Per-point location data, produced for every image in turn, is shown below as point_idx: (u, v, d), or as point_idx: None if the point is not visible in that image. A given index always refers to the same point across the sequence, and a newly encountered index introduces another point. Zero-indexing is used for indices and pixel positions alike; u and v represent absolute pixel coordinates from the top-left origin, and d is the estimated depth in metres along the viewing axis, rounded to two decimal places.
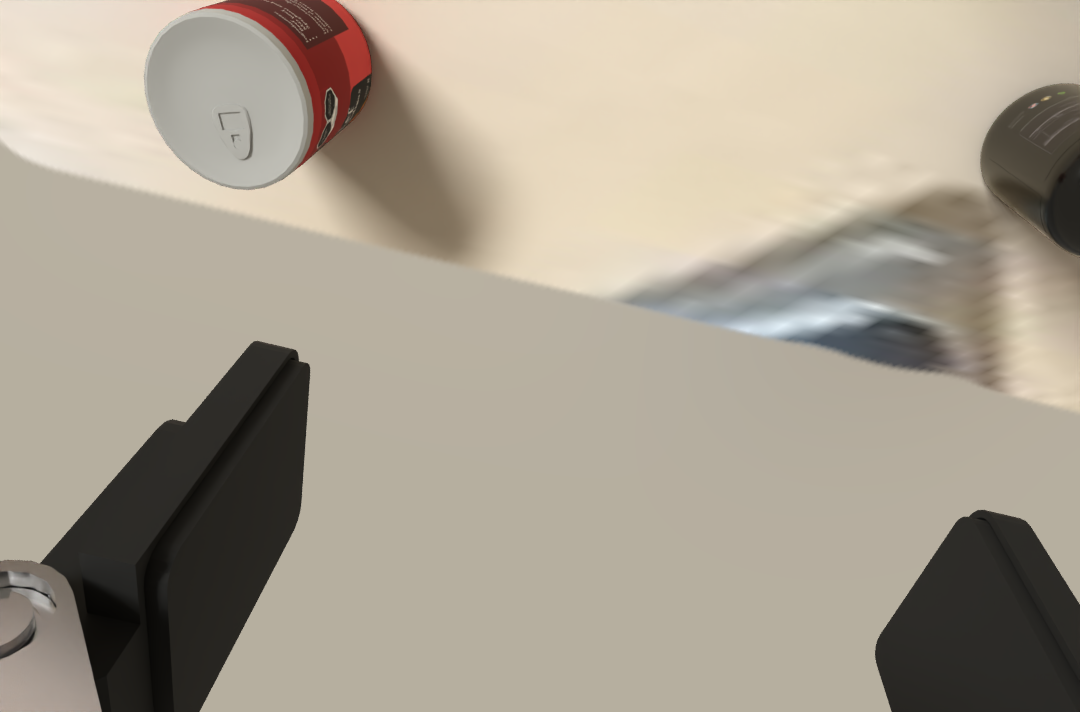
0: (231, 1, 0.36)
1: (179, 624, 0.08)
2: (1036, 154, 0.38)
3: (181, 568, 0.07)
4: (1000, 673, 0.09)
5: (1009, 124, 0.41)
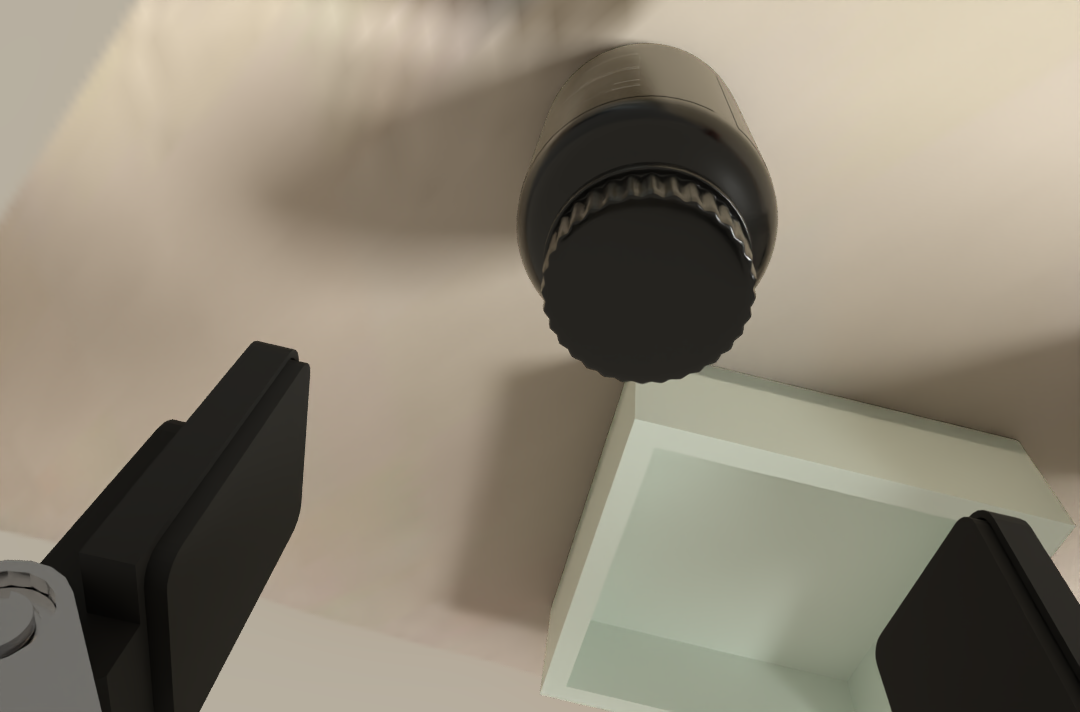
0: None
1: (179, 624, 0.08)
2: (747, 129, 0.21)
3: (181, 568, 0.07)
4: (1000, 673, 0.09)
5: (739, 109, 0.25)
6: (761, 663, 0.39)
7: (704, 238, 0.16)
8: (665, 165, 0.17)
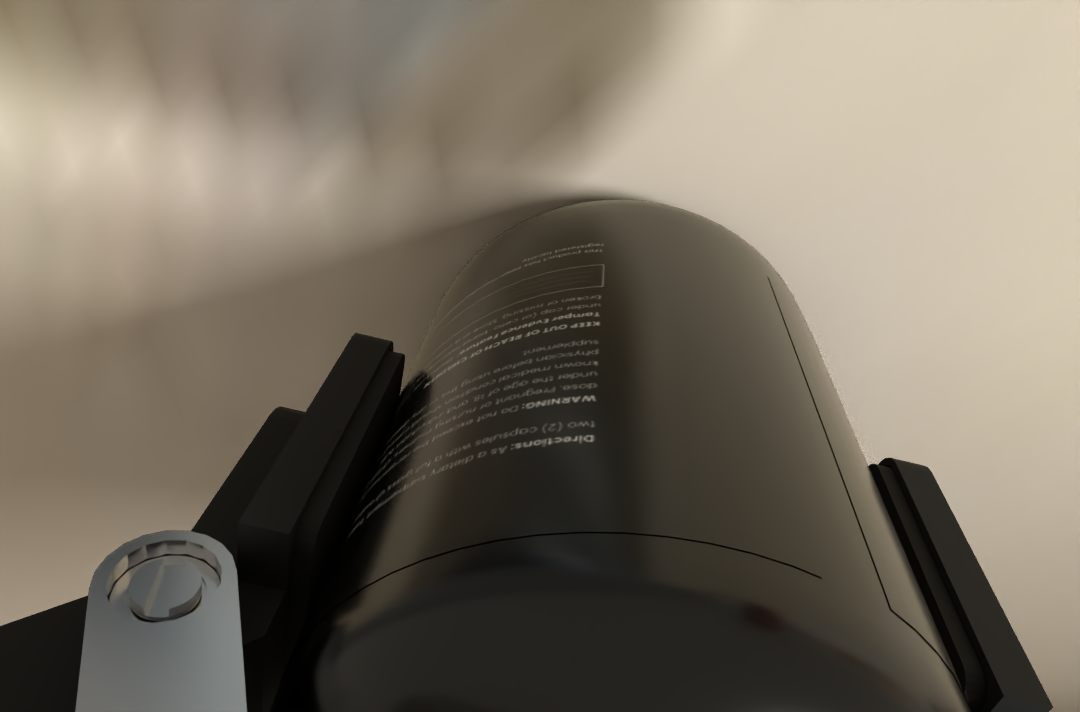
0: None
1: (313, 592, 0.08)
2: (879, 506, 0.08)
3: (321, 539, 0.08)
4: None
5: (818, 349, 0.12)
6: None
7: None
8: None
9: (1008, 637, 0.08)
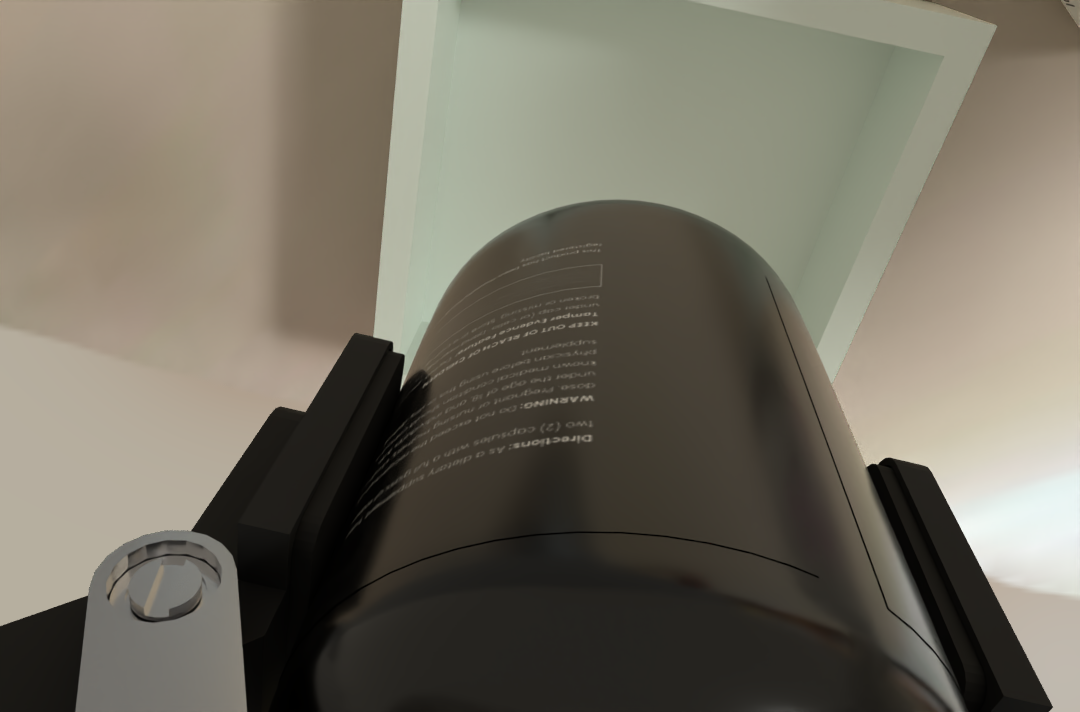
0: None
1: (314, 592, 0.08)
2: (876, 504, 0.08)
3: (321, 539, 0.08)
4: None
5: (815, 349, 0.12)
6: None
7: None
8: None
9: (1008, 637, 0.08)
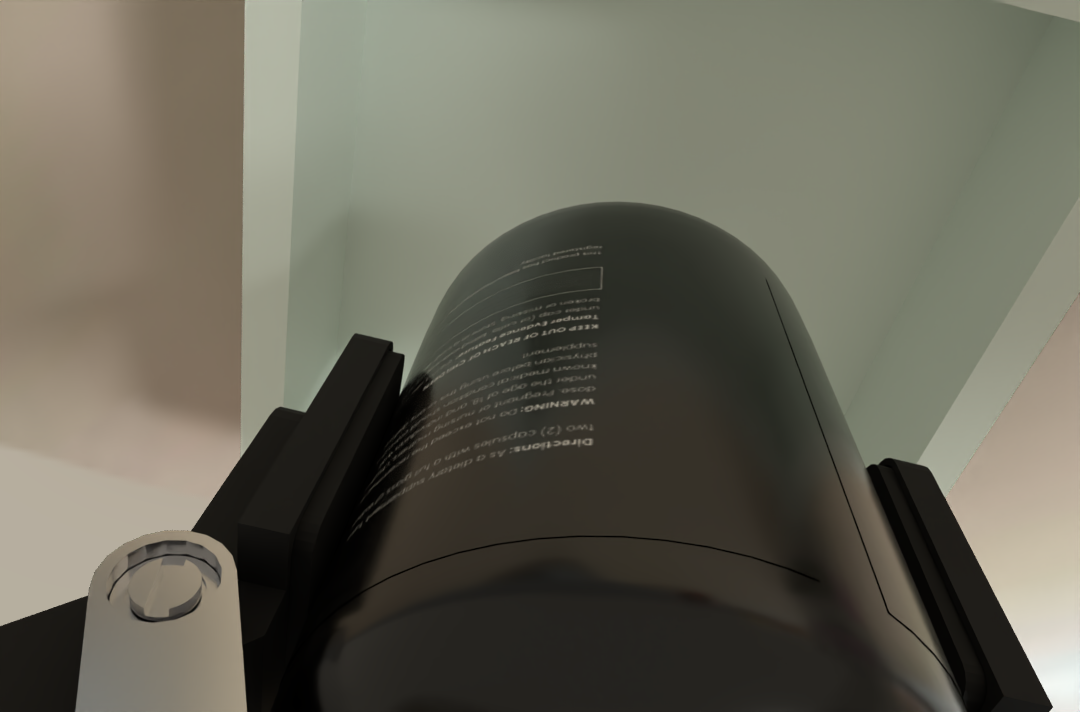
0: None
1: (313, 592, 0.08)
2: (877, 508, 0.08)
3: (321, 539, 0.08)
4: None
5: (816, 351, 0.12)
6: None
7: None
8: None
9: (1009, 637, 0.08)
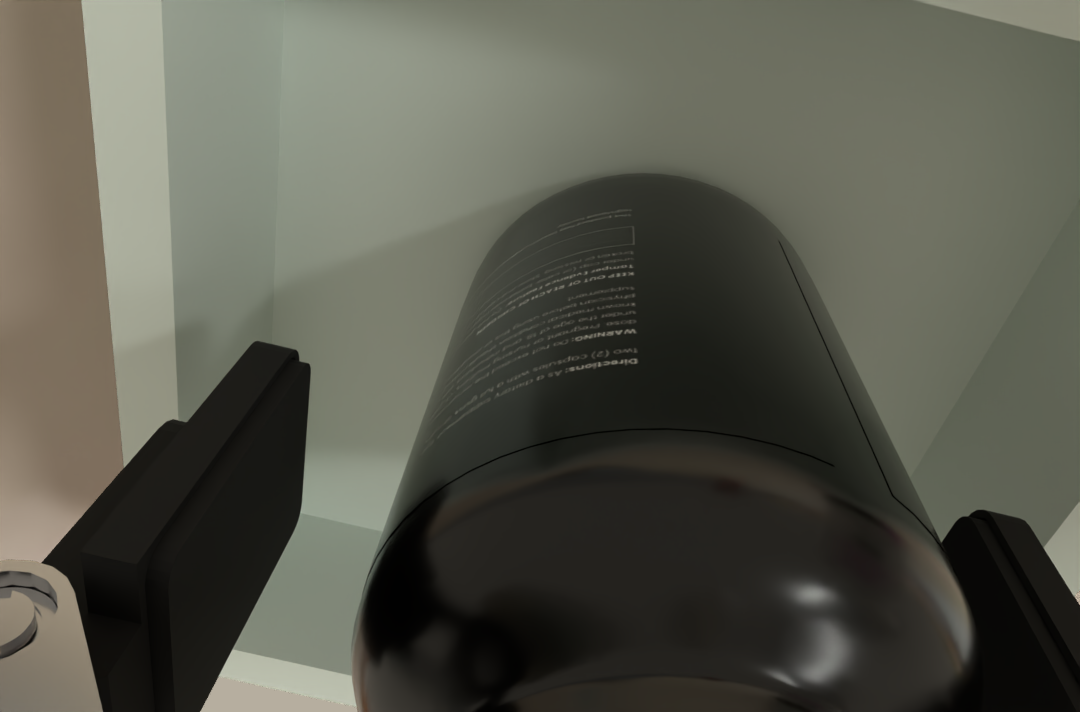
0: None
1: (180, 624, 0.08)
2: (881, 426, 0.09)
3: (182, 568, 0.07)
4: (999, 672, 0.09)
5: (825, 306, 0.13)
6: None
7: None
8: None
9: None
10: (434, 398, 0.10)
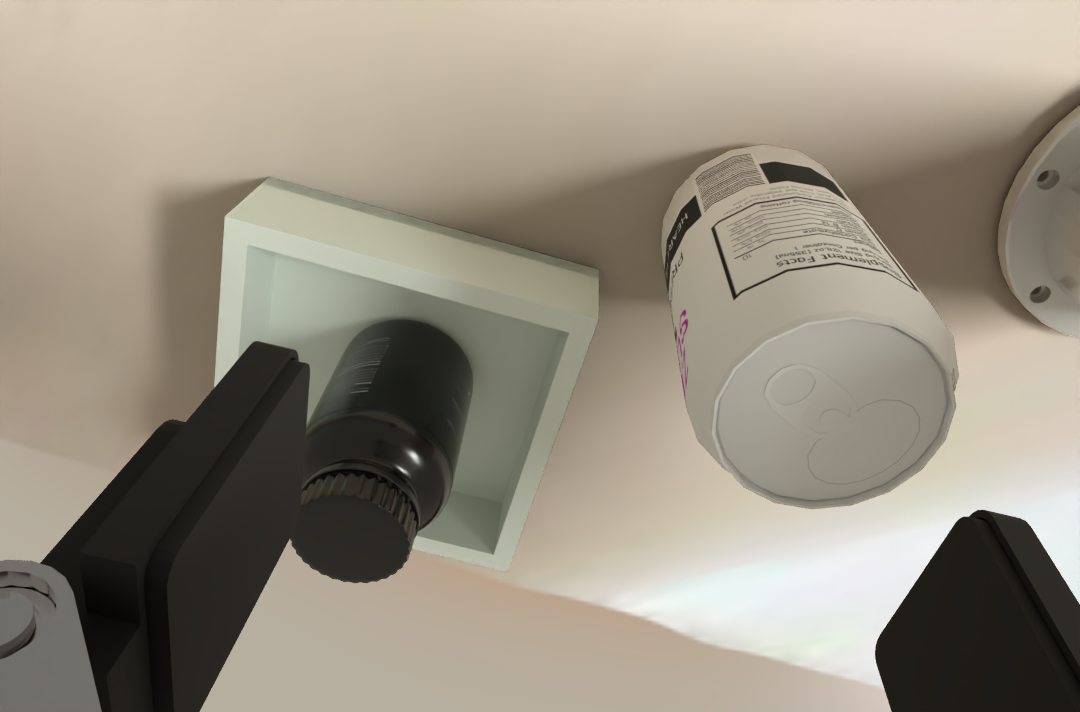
0: None
1: (179, 624, 0.08)
2: (441, 409, 0.34)
3: (181, 568, 0.07)
4: (1000, 673, 0.09)
5: (460, 370, 0.37)
6: None
7: (375, 516, 0.29)
8: (360, 466, 0.30)
9: None
10: (320, 398, 0.35)
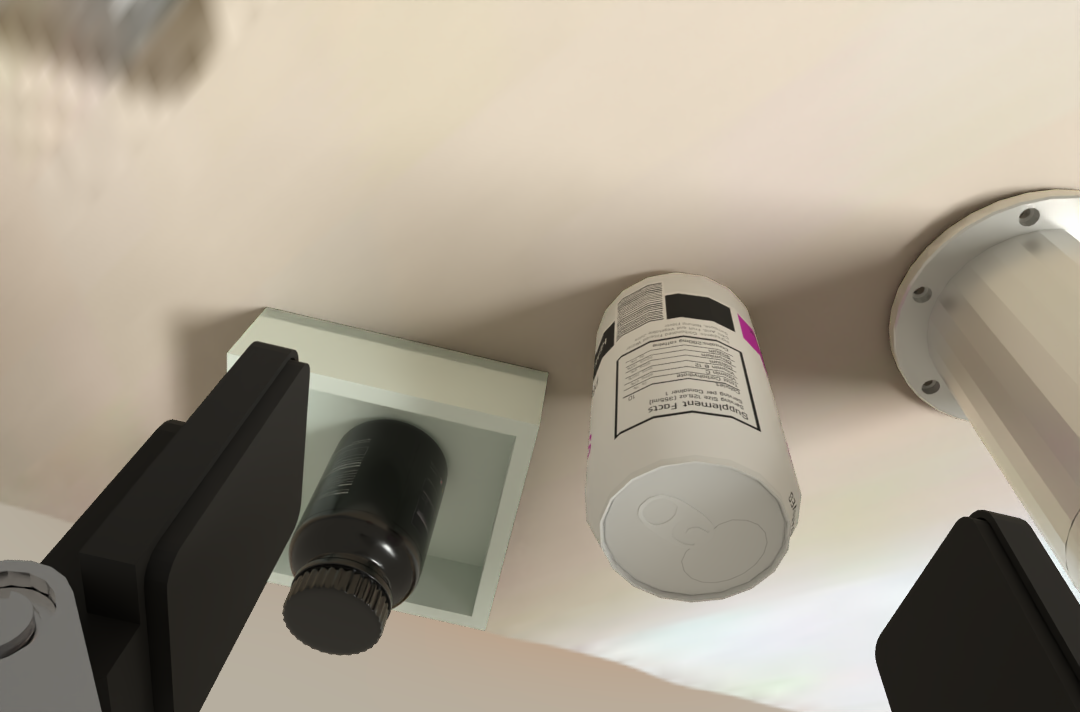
0: None
1: (179, 624, 0.08)
2: (411, 504, 0.40)
3: (181, 568, 0.07)
4: (1000, 673, 0.09)
5: (432, 463, 0.44)
6: None
7: (350, 603, 0.36)
8: (339, 561, 0.36)
9: None
10: None
